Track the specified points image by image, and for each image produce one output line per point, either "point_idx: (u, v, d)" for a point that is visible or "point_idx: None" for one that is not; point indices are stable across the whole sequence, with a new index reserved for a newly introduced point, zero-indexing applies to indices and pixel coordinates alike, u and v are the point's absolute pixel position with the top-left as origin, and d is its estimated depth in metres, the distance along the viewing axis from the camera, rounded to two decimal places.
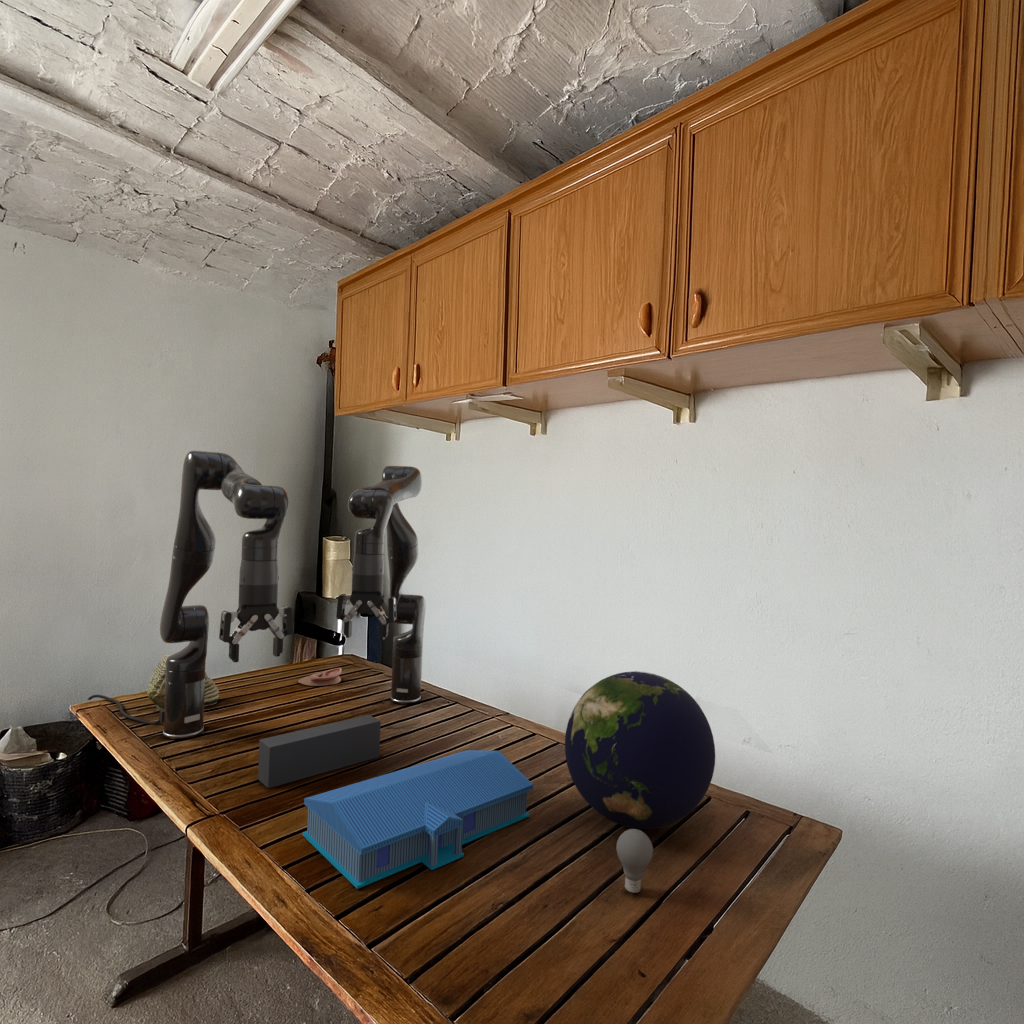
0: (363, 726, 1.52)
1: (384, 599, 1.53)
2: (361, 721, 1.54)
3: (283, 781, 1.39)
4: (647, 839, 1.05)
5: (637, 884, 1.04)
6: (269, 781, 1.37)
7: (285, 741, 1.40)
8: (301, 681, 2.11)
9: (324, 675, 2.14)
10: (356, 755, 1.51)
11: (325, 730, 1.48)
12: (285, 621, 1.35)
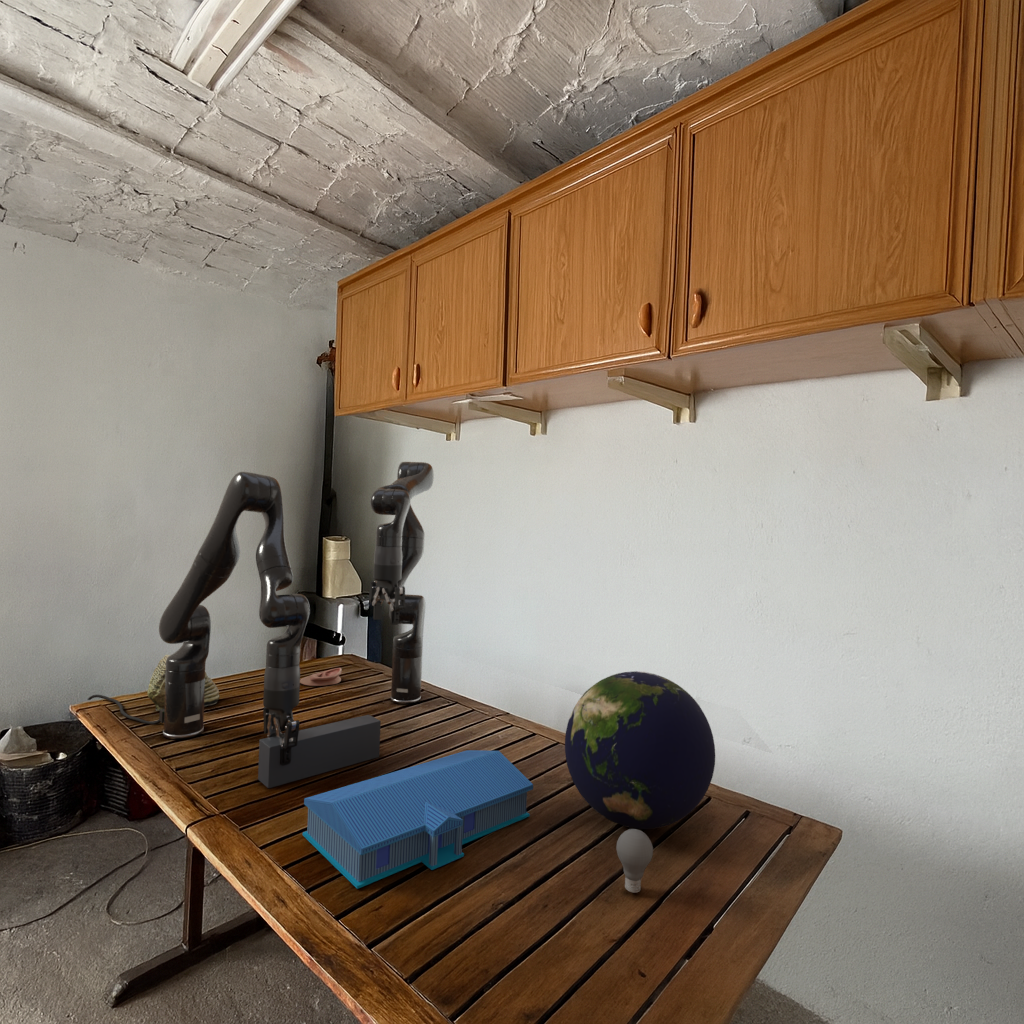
0: (363, 726, 1.52)
1: (394, 588, 1.68)
2: (361, 721, 1.54)
3: (283, 781, 1.39)
4: (647, 839, 1.05)
5: (637, 884, 1.04)
6: (269, 781, 1.37)
7: None
8: (301, 681, 2.11)
9: (324, 675, 2.14)
10: (356, 755, 1.51)
11: (325, 730, 1.48)
12: None
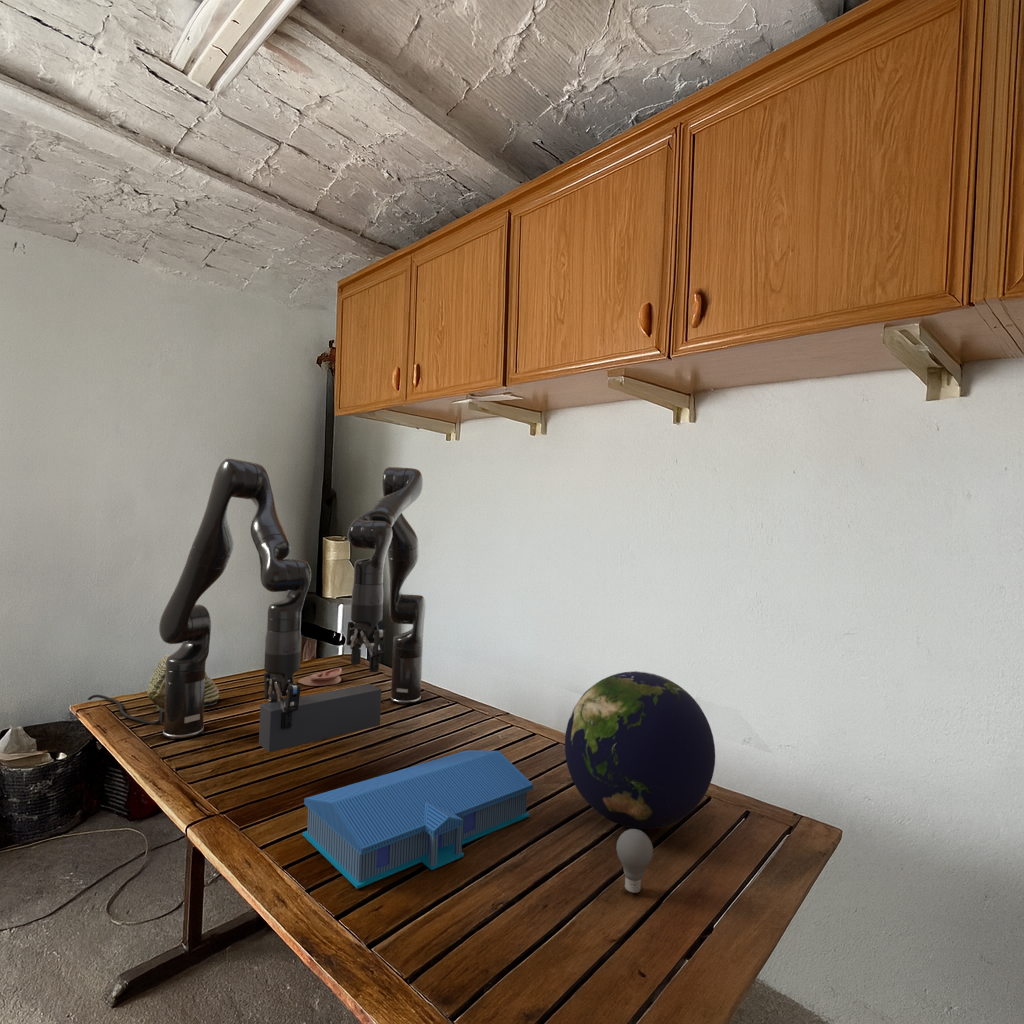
0: (364, 693, 1.52)
1: (374, 631, 1.51)
2: (362, 689, 1.54)
3: (284, 745, 1.39)
4: (647, 839, 1.05)
5: (637, 884, 1.04)
6: (270, 745, 1.36)
7: None
8: (301, 681, 2.11)
9: (324, 675, 2.14)
10: (357, 723, 1.51)
11: (326, 696, 1.47)
12: None
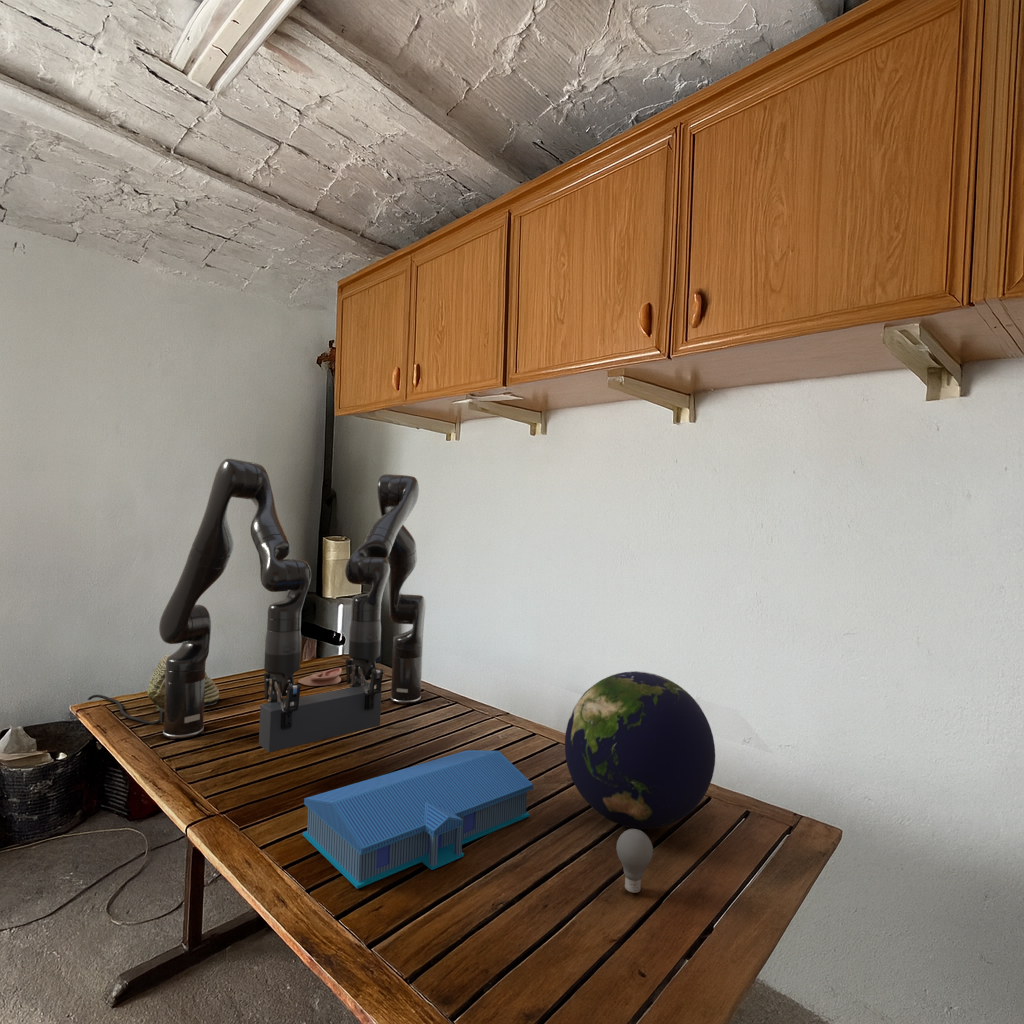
0: (364, 694, 1.52)
1: (371, 669, 1.51)
2: (362, 689, 1.54)
3: (284, 745, 1.38)
4: (647, 839, 1.05)
5: (637, 884, 1.04)
6: (270, 745, 1.36)
7: None
8: (301, 681, 2.11)
9: (324, 675, 2.14)
10: (357, 723, 1.51)
11: (326, 696, 1.47)
12: None
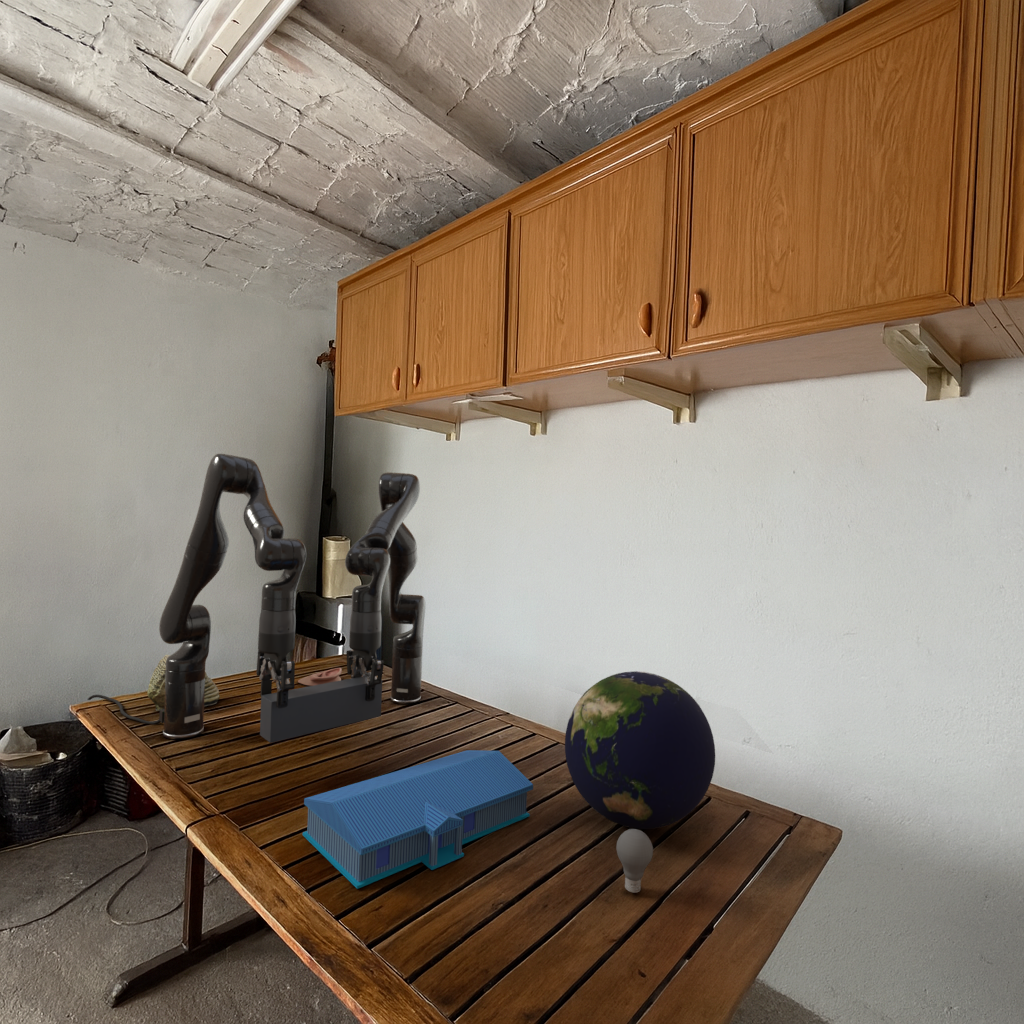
0: (365, 684, 1.52)
1: (372, 660, 1.51)
2: (363, 680, 1.54)
3: (285, 736, 1.39)
4: (647, 839, 1.05)
5: (637, 884, 1.04)
6: (271, 736, 1.37)
7: None
8: (301, 681, 2.11)
9: (324, 675, 2.14)
10: (358, 714, 1.51)
11: (326, 687, 1.47)
12: None
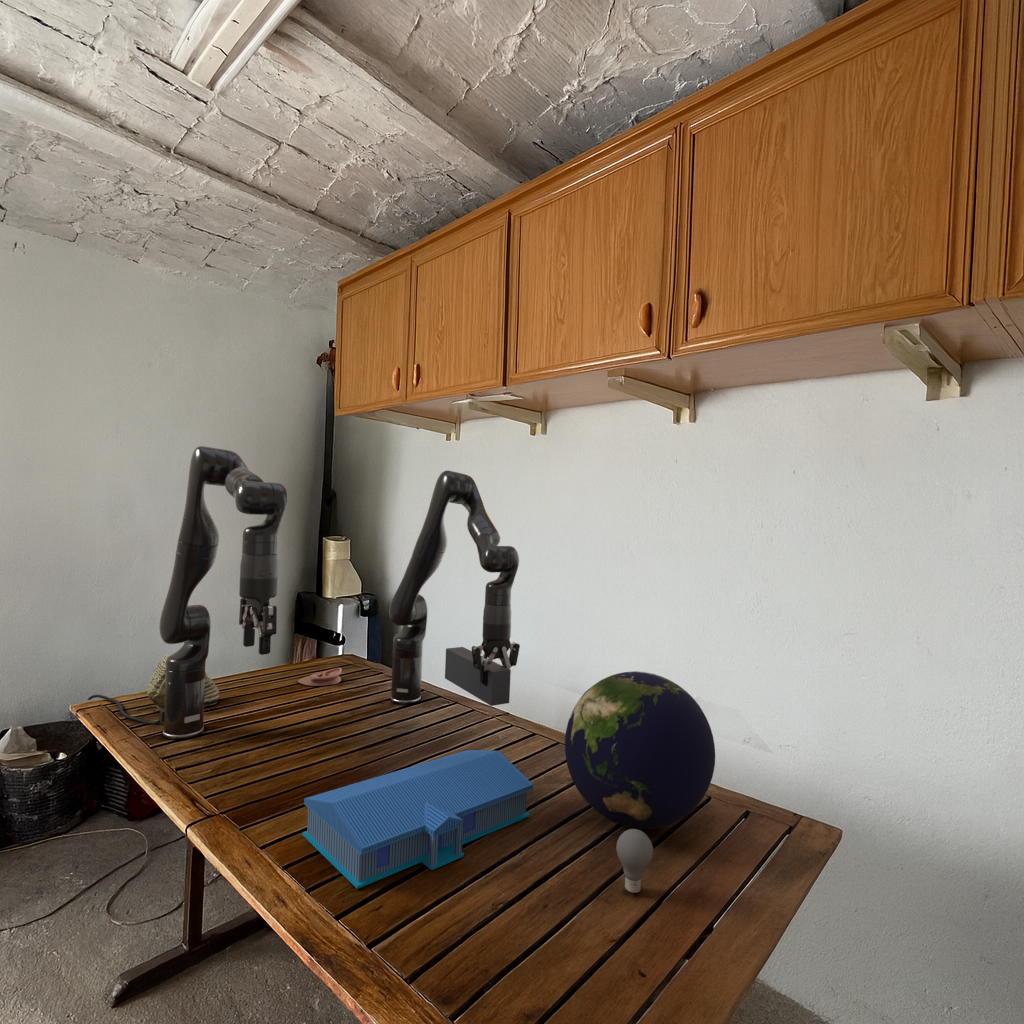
0: None
1: None
2: (492, 667, 1.69)
3: (449, 678, 1.85)
4: (647, 839, 1.05)
5: (637, 884, 1.04)
6: (445, 673, 1.88)
7: (456, 651, 1.85)
8: (301, 681, 2.11)
9: (324, 675, 2.14)
10: (479, 691, 1.70)
11: None
12: None
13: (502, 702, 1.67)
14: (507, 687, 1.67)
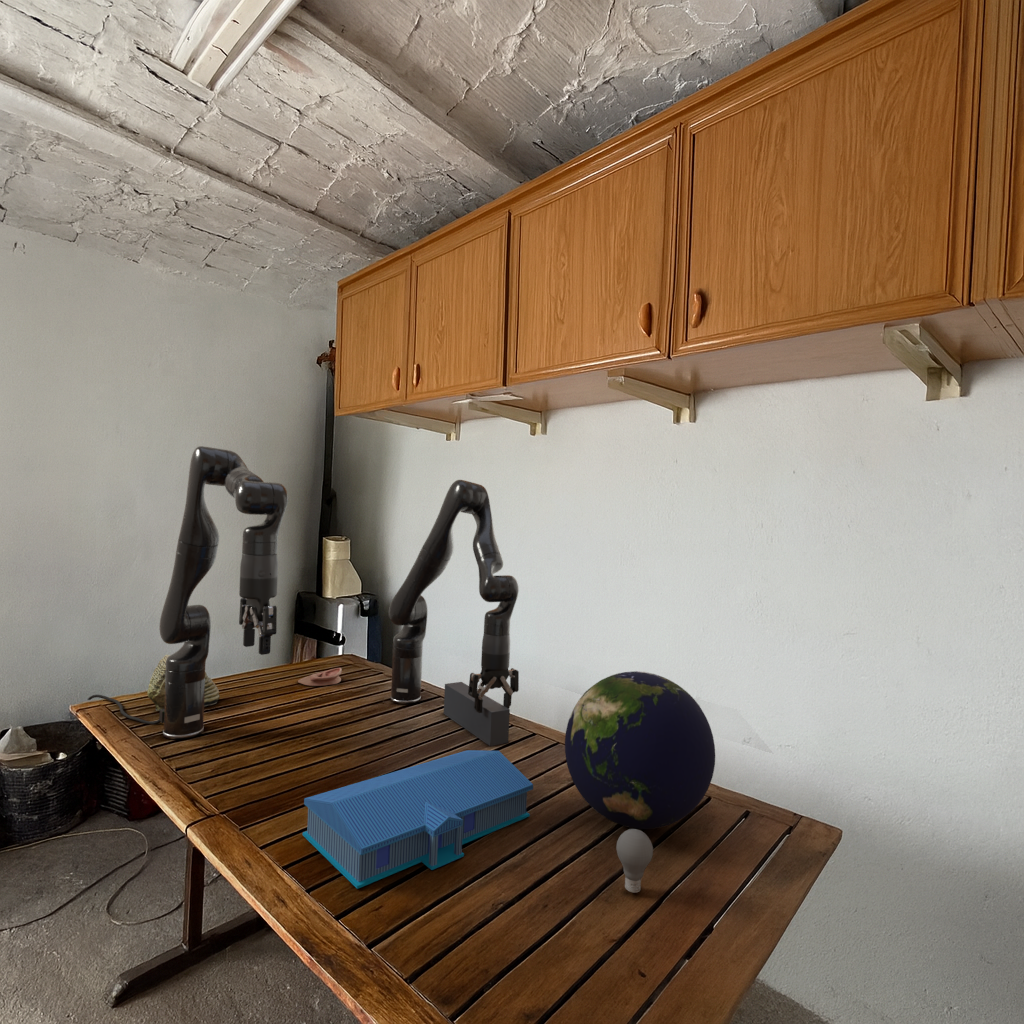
0: (482, 708, 1.69)
1: None
2: (491, 706, 1.69)
3: (448, 714, 1.86)
4: (647, 839, 1.05)
5: (637, 884, 1.04)
6: (444, 709, 1.88)
7: (455, 687, 1.86)
8: (301, 681, 2.11)
9: (324, 675, 2.14)
10: (478, 731, 1.70)
11: None
12: None
13: (501, 742, 1.67)
14: (506, 727, 1.68)
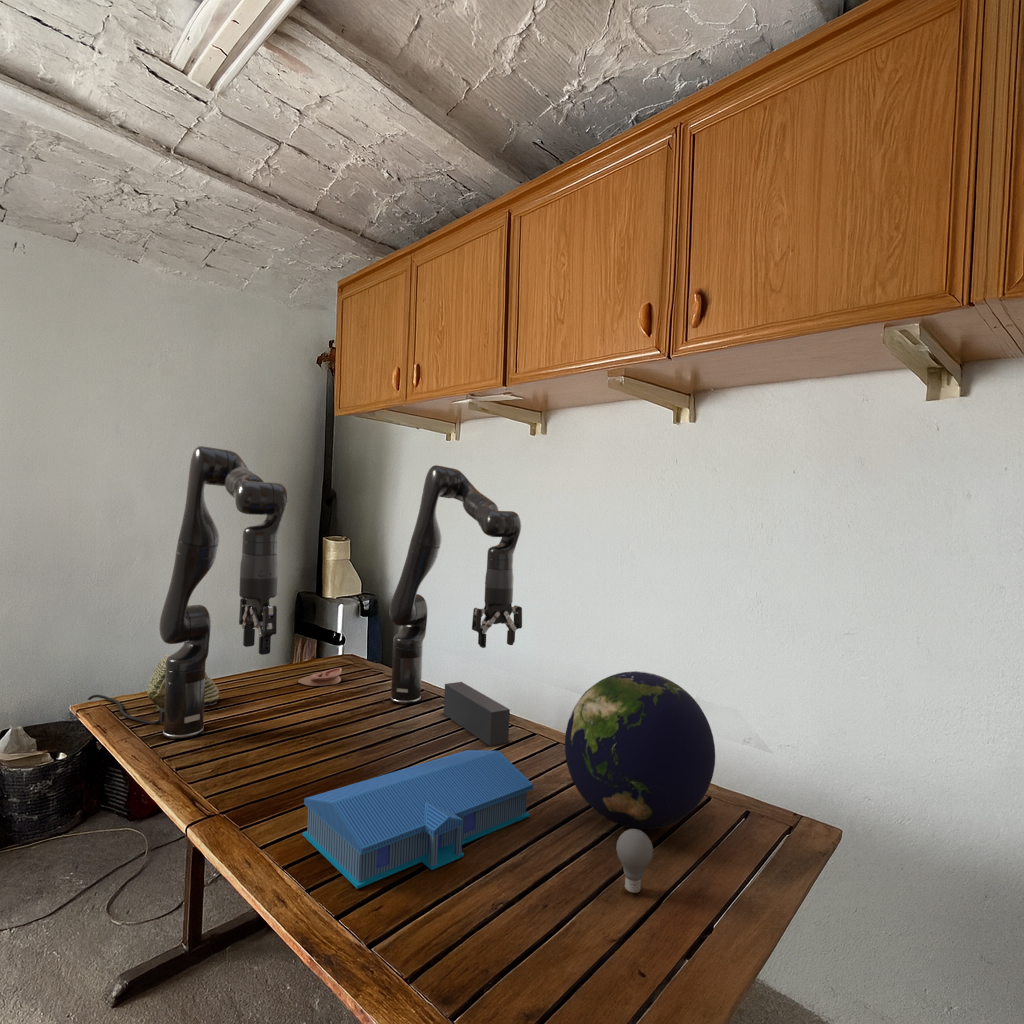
0: (482, 708, 1.69)
1: None
2: (491, 706, 1.69)
3: (448, 714, 1.86)
4: (647, 839, 1.05)
5: (637, 884, 1.04)
6: (444, 709, 1.88)
7: (455, 687, 1.86)
8: (301, 681, 2.11)
9: (324, 675, 2.14)
10: (478, 731, 1.70)
11: (474, 696, 1.78)
12: None
13: (501, 742, 1.67)
14: (506, 727, 1.68)
